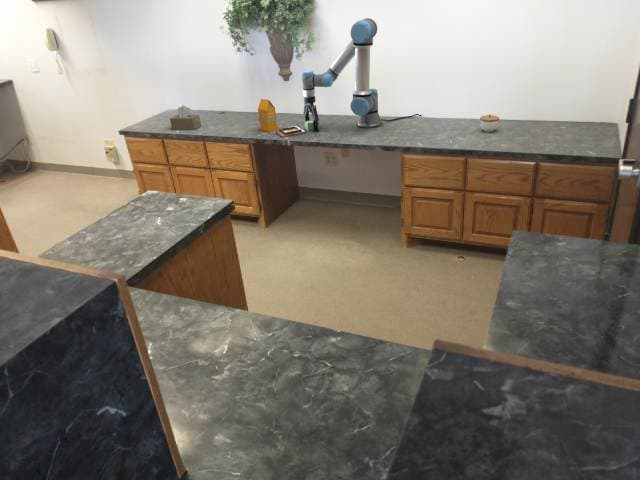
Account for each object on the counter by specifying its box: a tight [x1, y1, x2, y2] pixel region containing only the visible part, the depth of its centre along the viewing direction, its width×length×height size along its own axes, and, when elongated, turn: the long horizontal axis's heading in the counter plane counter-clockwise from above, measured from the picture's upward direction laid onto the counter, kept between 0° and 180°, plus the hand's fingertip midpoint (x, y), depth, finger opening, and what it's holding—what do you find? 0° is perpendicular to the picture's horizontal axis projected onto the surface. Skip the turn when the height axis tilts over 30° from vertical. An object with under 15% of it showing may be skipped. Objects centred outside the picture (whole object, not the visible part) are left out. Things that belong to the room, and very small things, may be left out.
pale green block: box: [304, 119, 321, 132], centre depth 333 cm, size 8×6×5 cm
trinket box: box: [479, 114, 500, 133], centre depth 299 cm, size 11×11×9 cm
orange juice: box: [257, 98, 278, 133], centre depth 337 cm, size 8×9×20 cm
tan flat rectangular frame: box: [275, 125, 306, 138], centre depth 330 cm, size 16×12×2 cm
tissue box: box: [169, 104, 202, 131], centre depth 359 cm, size 19×10×16 cm, turn 73°
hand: (311, 128), depth 335 cm, fingers open, 13 cm apart
